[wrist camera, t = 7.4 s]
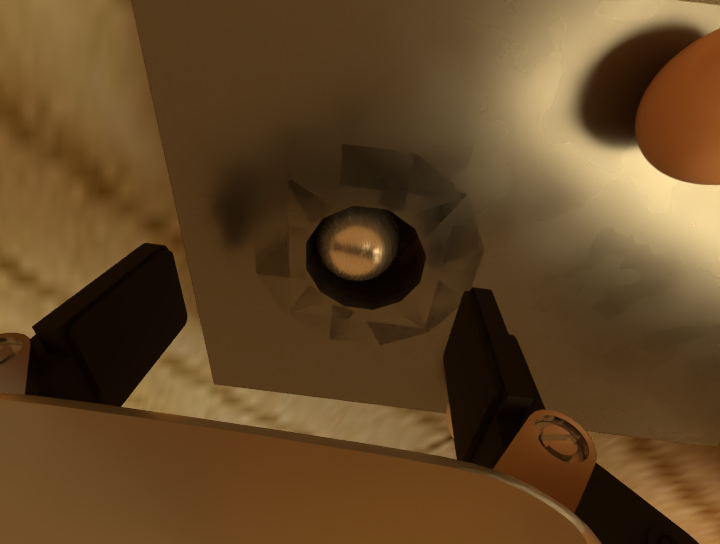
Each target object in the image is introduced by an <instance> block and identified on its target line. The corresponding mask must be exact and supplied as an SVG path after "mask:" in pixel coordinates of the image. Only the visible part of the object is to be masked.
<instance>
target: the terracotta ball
mask: <svg viewBox="0 0 720 544" xmlns="http://www.w3.org/2000/svg"><path fill="white" fill-rule="evenodd" d="M635 134H636V140H637V144H638V146H639V148H640V150H641V152H642V154H643V156H644V157H645V159H646V160H647V161H648V162H649V163H650V164H651V165H652V166H653V167H654V168H655V169H656V170H658V171H660V172H661V173H663V174H665V175H667V176H668V177H671V178H674V179H676V180H679V181H682V182H687V183H692V184H698V185H720V28H719V29H717V30H715V31H713V32H711V33H709V34H707V35H705V36H703V37H701V38H700V39H698V40H696V41H695V42H693V43H691V44H690V45H689V46H687V47H686V48H685V49H683V50H682V51H681V52H679V53H678V54H677V55H676V56H674V57H673V58H672V59H671V60H670V61H669V62H668V63H667V64H666V65H665V66H664V67H663V68H662V69H661V70H660V71H659V72H658V74H657V75H656V76H655V77H654V79H653V80H652V81H651V83H650V84H649V86H648V87H647V89H646V91H645V93H644V95H643V97H642V99H641V101H640V104H639V107H638V110H637V114H636V119H635Z"/></svg>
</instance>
